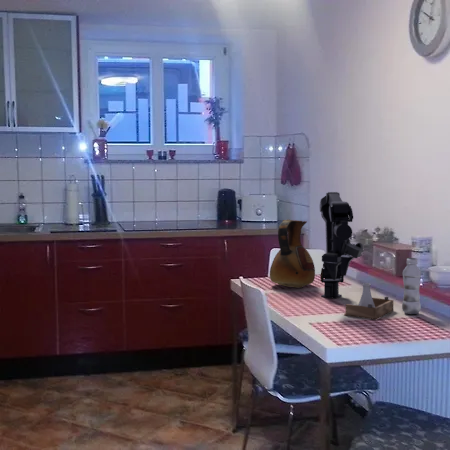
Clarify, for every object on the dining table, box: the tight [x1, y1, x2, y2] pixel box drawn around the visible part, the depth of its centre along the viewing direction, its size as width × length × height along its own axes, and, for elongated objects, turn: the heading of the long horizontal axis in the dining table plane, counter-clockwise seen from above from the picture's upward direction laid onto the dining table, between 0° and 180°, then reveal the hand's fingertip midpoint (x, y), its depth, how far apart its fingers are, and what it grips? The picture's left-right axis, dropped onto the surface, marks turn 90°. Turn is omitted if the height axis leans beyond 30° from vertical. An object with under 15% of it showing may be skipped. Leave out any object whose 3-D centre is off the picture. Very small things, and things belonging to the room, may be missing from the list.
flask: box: [358, 282, 375, 308], centre depth 229 cm, size 7×7×10 cm
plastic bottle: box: [401, 257, 422, 315], centre depth 226 cm, size 6×7×20 cm
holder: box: [343, 296, 395, 321], centre depth 229 cm, size 16×12×5 cm
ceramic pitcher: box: [269, 218, 316, 289], centre depth 278 cm, size 20×20×30 cm
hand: (339, 277), depth 236 cm, fingers open, 9 cm apart
